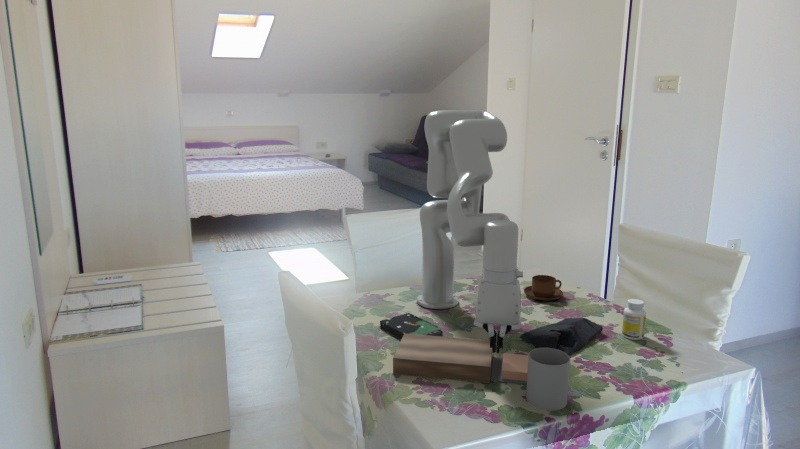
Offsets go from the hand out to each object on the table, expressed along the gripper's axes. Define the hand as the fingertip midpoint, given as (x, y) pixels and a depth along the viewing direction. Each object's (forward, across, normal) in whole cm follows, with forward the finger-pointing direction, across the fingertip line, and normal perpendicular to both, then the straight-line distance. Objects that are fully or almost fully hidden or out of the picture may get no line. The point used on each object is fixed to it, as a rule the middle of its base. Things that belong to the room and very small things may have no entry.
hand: (496, 350), depth 136 cm
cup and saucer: (+5, -13, -53) cm, 54 cm away
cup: (+5, -11, +12) cm, 17 cm away
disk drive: (+5, +23, -17) cm, 29 cm away
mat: (+5, -5, 0) cm, 7 cm away
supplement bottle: (+5, -35, -26) cm, 44 cm away
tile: (+2, -5, 0) cm, 5 cm away
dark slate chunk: (+5, -17, -22) cm, 28 cm away
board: (+5, +12, 0) cm, 13 cm away
